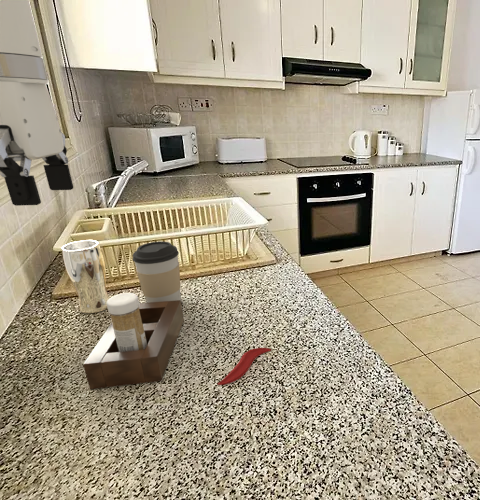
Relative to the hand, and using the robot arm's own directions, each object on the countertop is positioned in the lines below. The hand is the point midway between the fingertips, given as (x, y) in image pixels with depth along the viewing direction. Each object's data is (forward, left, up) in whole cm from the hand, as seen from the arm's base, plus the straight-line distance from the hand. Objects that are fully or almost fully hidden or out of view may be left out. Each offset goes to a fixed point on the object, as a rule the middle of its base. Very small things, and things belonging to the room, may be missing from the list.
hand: (46, 196), depth 56 cm
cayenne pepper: (+27, -6, -31) cm, 41 cm away
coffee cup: (+8, +19, -31) cm, 37 cm away
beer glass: (-7, +21, -31) cm, 38 cm away
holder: (+8, +2, -30) cm, 31 cm away
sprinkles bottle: (+8, -2, -31) cm, 32 cm away
